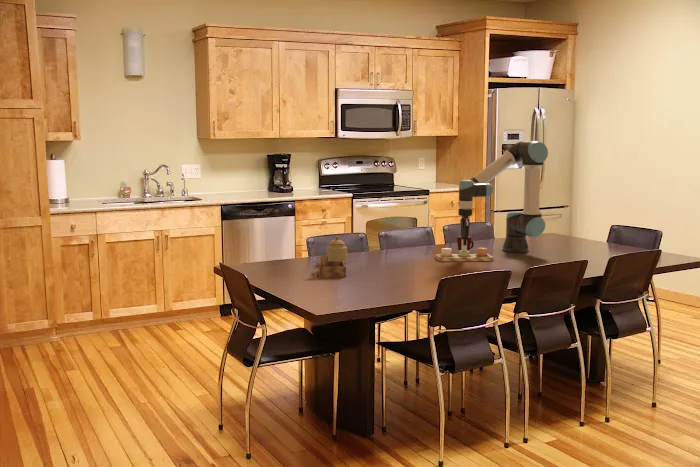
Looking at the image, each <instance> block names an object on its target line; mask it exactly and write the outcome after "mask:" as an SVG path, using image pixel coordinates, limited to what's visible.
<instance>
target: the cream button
mask: <svg viewBox="0 0 700 467" xmlns="http://www.w3.org/2000/svg"><path fill="white" fill-rule="evenodd" d="M452 252H453V251H452V248H451V247H450V248H449V247H444V248H443V247H442V248H441V253H440V254H441V256H443V257H451V255H452V254H453V253H452Z"/></svg>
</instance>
